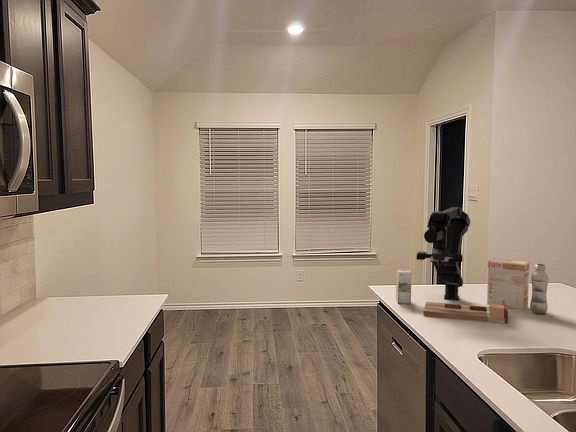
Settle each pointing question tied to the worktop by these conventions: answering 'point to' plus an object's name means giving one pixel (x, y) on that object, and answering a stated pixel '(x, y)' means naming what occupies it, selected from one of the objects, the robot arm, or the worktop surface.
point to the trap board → (462, 312)
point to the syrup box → (403, 287)
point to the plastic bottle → (539, 289)
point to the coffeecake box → (508, 283)
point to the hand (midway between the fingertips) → (439, 276)
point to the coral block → (496, 311)
